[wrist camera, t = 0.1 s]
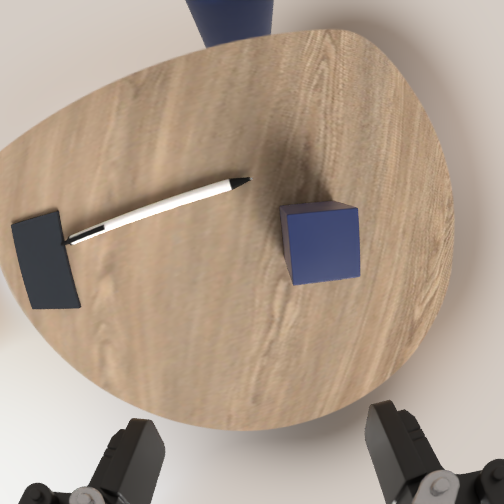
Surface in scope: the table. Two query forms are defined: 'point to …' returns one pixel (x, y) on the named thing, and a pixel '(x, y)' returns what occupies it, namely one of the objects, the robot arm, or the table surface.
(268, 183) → the table surface
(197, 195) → the pen
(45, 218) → the mat
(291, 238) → the block
